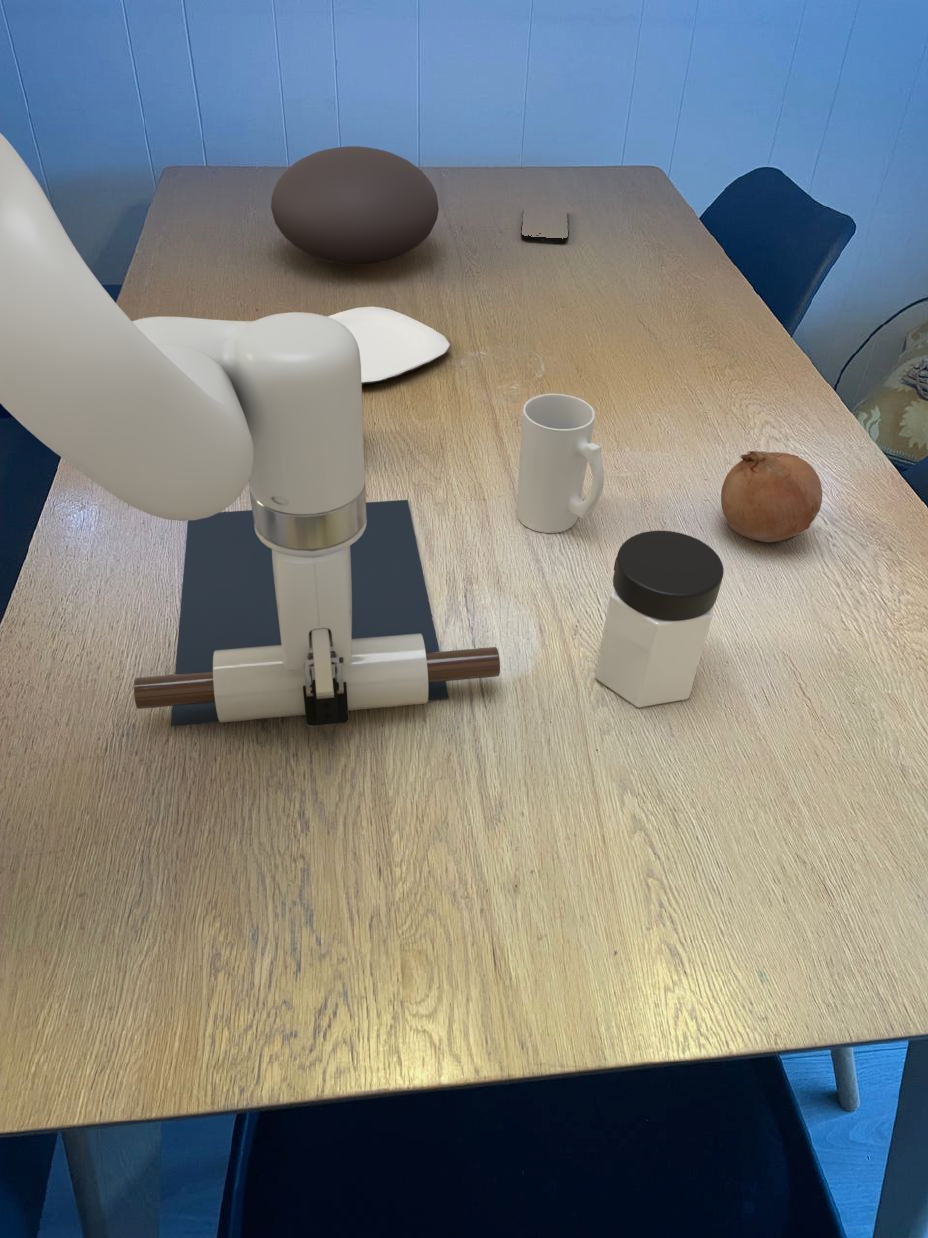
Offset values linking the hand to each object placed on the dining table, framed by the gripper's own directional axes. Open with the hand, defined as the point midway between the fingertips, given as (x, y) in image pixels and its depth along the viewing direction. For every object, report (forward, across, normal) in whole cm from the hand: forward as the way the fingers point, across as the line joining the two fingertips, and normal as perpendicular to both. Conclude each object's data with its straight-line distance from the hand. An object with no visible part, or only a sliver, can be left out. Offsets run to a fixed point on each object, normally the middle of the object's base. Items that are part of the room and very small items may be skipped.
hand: (325, 690), depth 74 cm
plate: (+2, -61, +9) cm, 61 cm away
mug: (+2, -22, +24) cm, 33 cm away
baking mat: (+2, -13, -1) cm, 13 cm away
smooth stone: (+2, -93, +10) cm, 94 cm away
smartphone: (+1, -103, +42) cm, 111 cm away
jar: (+2, 0, +27) cm, 27 cm away
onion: (+2, -18, +45) cm, 48 cm away
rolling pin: (+1, 0, 0) cm, 1 cm away
